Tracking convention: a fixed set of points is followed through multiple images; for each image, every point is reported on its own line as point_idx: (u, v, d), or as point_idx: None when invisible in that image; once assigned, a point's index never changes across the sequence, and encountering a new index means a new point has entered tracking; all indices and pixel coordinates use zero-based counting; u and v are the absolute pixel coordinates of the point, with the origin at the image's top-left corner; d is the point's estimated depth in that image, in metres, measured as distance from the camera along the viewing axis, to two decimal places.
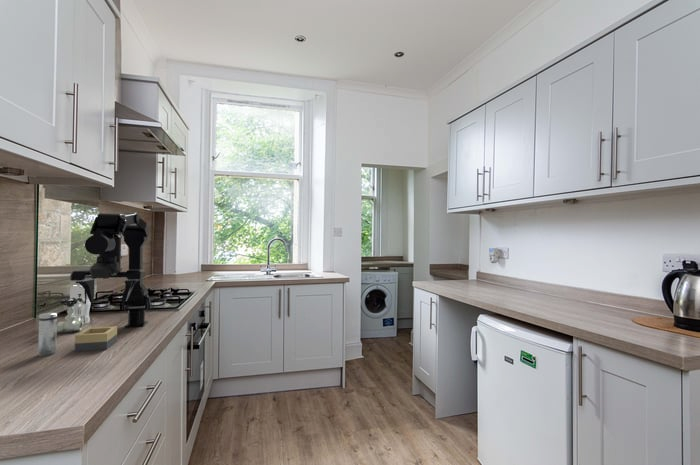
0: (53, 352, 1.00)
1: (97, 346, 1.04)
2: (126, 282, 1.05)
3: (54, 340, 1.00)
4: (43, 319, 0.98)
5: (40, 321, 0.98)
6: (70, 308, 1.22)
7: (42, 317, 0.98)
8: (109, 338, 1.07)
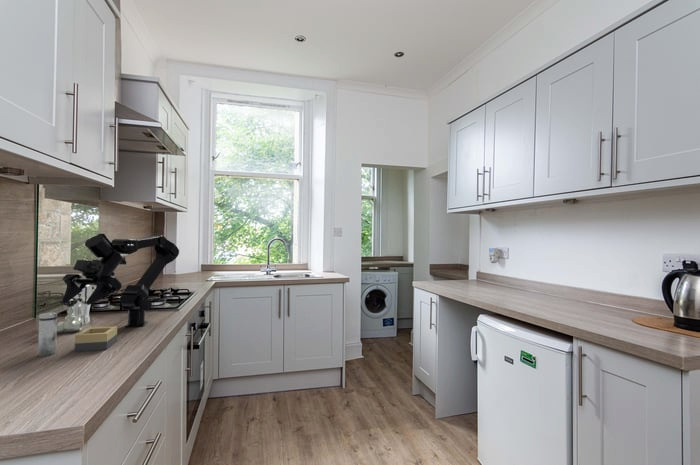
0: (53, 352, 1.00)
1: (97, 346, 1.04)
2: (97, 283, 1.10)
3: (54, 340, 1.00)
4: (43, 319, 0.98)
5: (40, 321, 0.98)
6: (70, 308, 1.22)
7: (43, 317, 0.98)
8: (109, 338, 1.07)
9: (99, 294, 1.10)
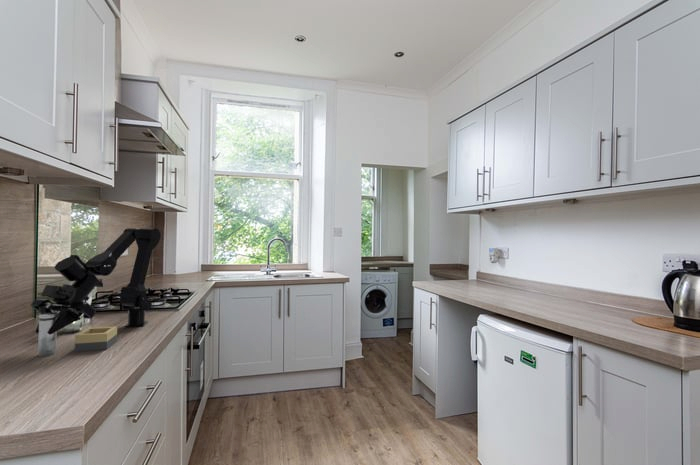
0: (53, 352, 1.00)
1: (97, 346, 1.04)
2: (61, 310, 1.01)
3: (54, 340, 1.00)
4: (42, 319, 0.98)
5: (40, 321, 0.98)
6: None
7: (42, 317, 0.98)
8: (109, 338, 1.07)
9: (63, 322, 1.01)
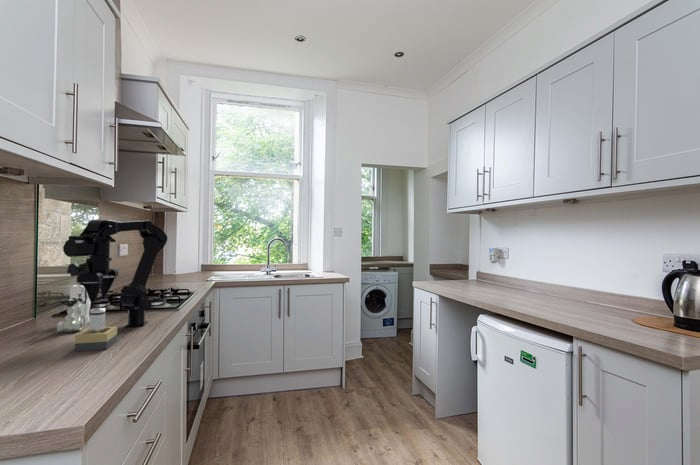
0: None
1: (97, 346, 1.04)
2: None
3: None
4: (96, 313, 1.06)
5: (93, 315, 1.06)
6: (70, 308, 1.22)
7: (96, 311, 1.06)
8: (109, 338, 1.07)
9: (92, 290, 1.12)
